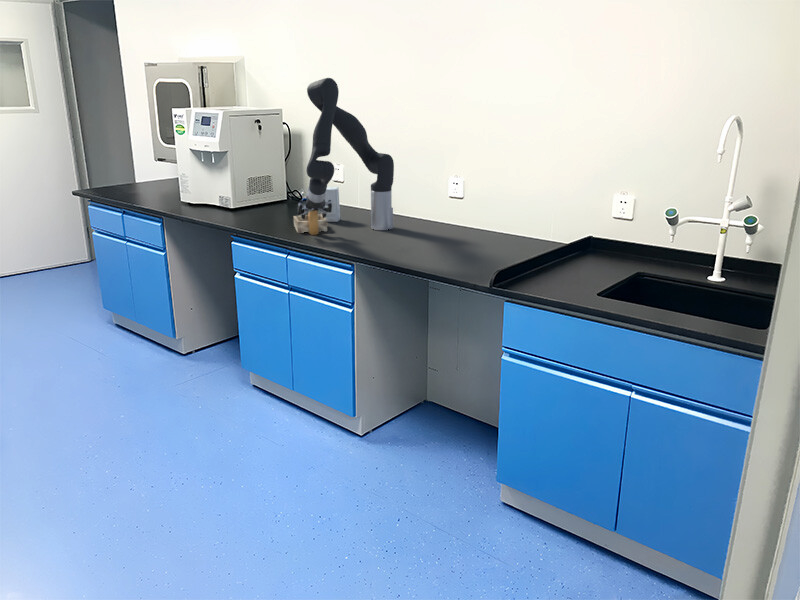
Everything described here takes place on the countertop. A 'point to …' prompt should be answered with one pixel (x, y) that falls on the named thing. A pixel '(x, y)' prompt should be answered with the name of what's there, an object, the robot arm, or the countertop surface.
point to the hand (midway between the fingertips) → (313, 216)
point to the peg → (313, 222)
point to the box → (303, 224)
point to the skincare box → (333, 204)
